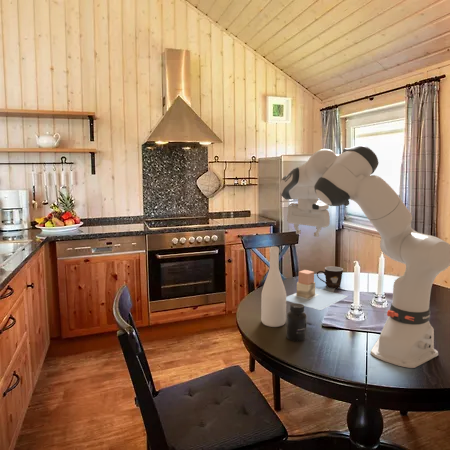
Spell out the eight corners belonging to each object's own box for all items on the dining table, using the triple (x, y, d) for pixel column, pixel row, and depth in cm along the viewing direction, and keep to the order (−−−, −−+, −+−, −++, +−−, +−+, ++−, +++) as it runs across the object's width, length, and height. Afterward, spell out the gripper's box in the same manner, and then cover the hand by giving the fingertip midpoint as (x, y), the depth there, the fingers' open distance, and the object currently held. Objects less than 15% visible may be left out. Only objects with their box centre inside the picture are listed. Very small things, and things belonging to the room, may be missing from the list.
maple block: (307, 298, 179) (308, 285, 178) (296, 295, 183) (296, 282, 182) (315, 294, 183) (315, 282, 182) (303, 292, 187) (304, 279, 186)
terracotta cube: (307, 284, 178) (308, 273, 178) (298, 282, 182) (298, 271, 181) (313, 282, 182) (314, 271, 181) (304, 280, 185) (304, 269, 185)
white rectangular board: (320, 313, 164) (320, 310, 164) (281, 301, 178) (281, 298, 178) (348, 298, 181) (348, 295, 181) (310, 289, 195) (310, 286, 195)
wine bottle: (290, 322, 155) (292, 246, 150) (276, 330, 148) (277, 251, 144) (270, 316, 162) (271, 243, 157) (256, 323, 155) (256, 247, 150)
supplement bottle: (301, 343, 137) (302, 310, 135) (283, 339, 141) (283, 306, 139) (308, 336, 143) (309, 304, 141) (291, 332, 146) (291, 300, 145)
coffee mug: (344, 287, 197) (345, 267, 195) (339, 292, 190) (339, 272, 188) (321, 283, 203) (322, 264, 202) (315, 288, 196) (316, 268, 194)
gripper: (284, 203, 181) (283, 233, 183) (324, 206, 167) (323, 239, 169) (292, 202, 186) (291, 231, 188) (332, 205, 172) (330, 237, 174)
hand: (307, 235), depth 179 cm, fingers open, 8 cm apart
